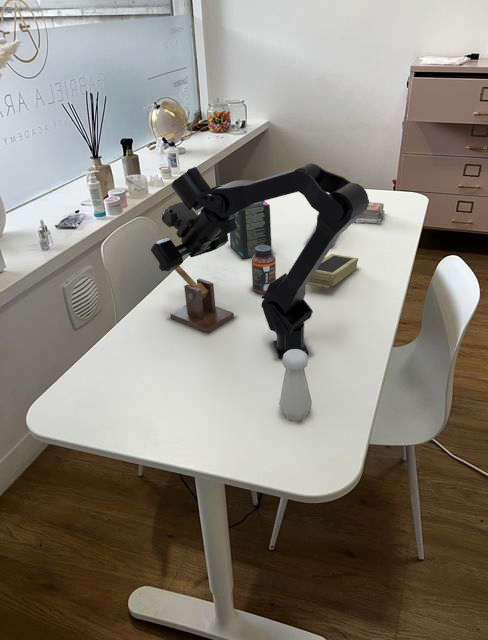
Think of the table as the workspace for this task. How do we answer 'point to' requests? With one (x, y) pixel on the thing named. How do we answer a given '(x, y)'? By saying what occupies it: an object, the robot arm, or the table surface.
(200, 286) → the lever
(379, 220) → the packaged product
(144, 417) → the table surface
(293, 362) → the salt shaker
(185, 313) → the switch bracket
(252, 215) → the tampon box
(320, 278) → the box
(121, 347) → the table surface
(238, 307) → the table surface
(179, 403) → the table surface
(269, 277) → the supplement bottle
